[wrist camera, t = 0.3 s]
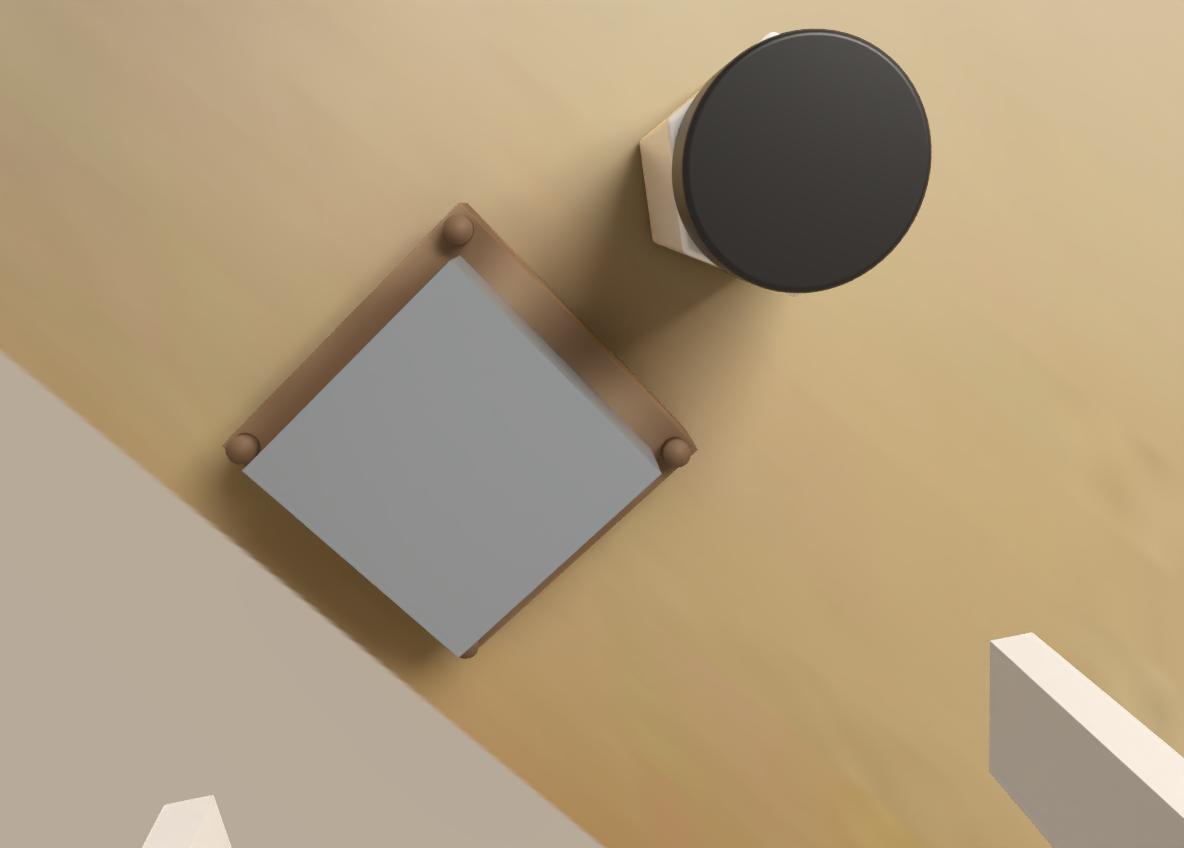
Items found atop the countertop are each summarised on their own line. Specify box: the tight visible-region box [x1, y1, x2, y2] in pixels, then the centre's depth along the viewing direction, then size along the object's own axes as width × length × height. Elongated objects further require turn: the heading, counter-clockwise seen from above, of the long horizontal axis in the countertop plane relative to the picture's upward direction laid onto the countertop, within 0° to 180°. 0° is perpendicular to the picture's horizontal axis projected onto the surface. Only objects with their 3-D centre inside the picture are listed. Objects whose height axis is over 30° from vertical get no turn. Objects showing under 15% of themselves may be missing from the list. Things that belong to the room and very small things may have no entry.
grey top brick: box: [242, 255, 661, 658], centre depth 35 cm, size 12×12×4 cm
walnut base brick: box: [222, 203, 698, 659], centre depth 38 cm, size 15×15×4 cm
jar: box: [640, 29, 931, 297], centre depth 32 cm, size 9×8×12 cm
